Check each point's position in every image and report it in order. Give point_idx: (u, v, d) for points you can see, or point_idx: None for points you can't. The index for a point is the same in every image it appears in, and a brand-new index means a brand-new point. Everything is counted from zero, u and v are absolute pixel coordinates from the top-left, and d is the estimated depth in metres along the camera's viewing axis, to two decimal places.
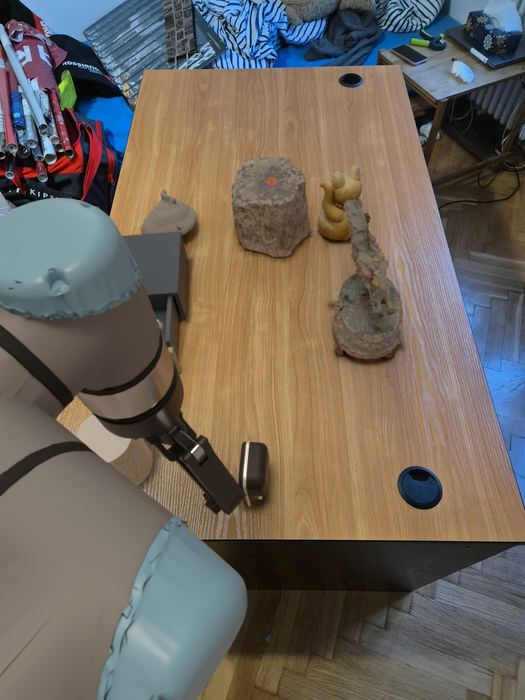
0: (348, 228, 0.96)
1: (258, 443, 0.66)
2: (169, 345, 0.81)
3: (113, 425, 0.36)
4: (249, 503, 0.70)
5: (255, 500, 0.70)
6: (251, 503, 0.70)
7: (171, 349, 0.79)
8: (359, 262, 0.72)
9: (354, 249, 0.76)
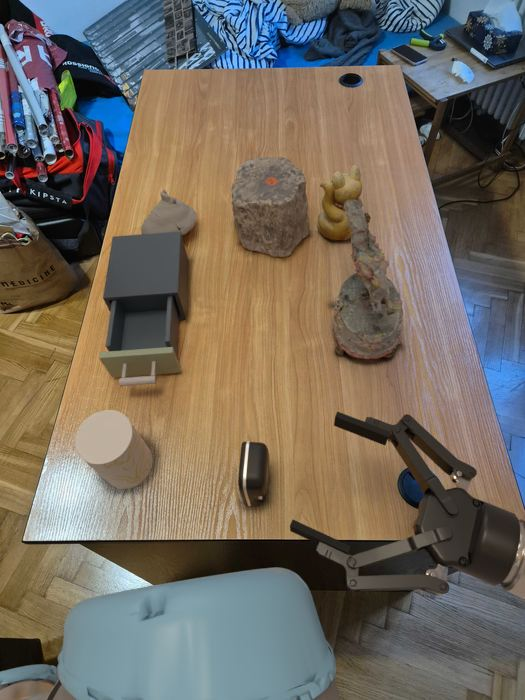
0: (348, 228, 0.96)
1: (258, 443, 0.66)
2: (169, 345, 0.81)
3: (509, 559, 0.44)
4: (249, 503, 0.70)
5: (255, 500, 0.70)
6: (251, 503, 0.70)
7: (171, 349, 0.79)
8: (359, 262, 0.72)
9: (354, 249, 0.76)
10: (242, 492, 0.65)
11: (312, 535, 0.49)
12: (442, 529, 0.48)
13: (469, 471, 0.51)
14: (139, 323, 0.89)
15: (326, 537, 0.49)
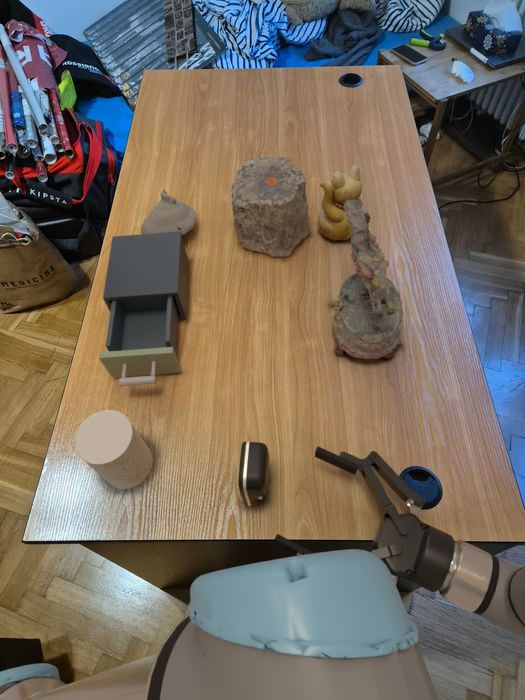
0: (348, 228, 0.96)
1: (258, 443, 0.66)
2: (169, 345, 0.81)
3: (443, 572, 0.57)
4: (249, 503, 0.70)
5: (255, 500, 0.70)
6: (251, 503, 0.70)
7: (171, 349, 0.79)
8: (359, 262, 0.72)
9: (354, 249, 0.76)
10: (242, 492, 0.65)
11: (292, 547, 0.61)
12: (394, 546, 0.60)
13: (420, 500, 0.64)
14: (139, 323, 0.89)
15: (303, 549, 0.61)
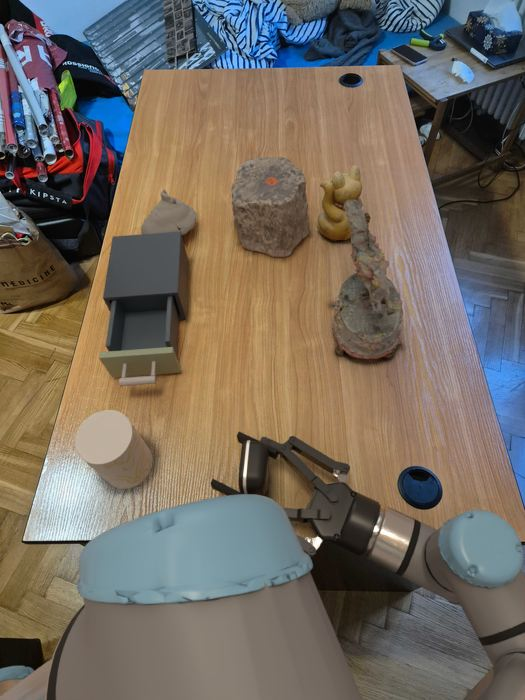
0: (348, 228, 0.96)
1: (258, 442, 0.66)
2: (169, 345, 0.81)
3: (366, 535, 0.60)
4: None
5: None
6: None
7: (171, 349, 0.79)
8: (359, 262, 0.72)
9: (354, 249, 0.76)
10: (242, 491, 0.65)
11: (226, 490, 0.66)
12: (323, 512, 0.63)
13: (344, 467, 0.67)
14: (139, 323, 0.89)
15: (236, 492, 0.66)
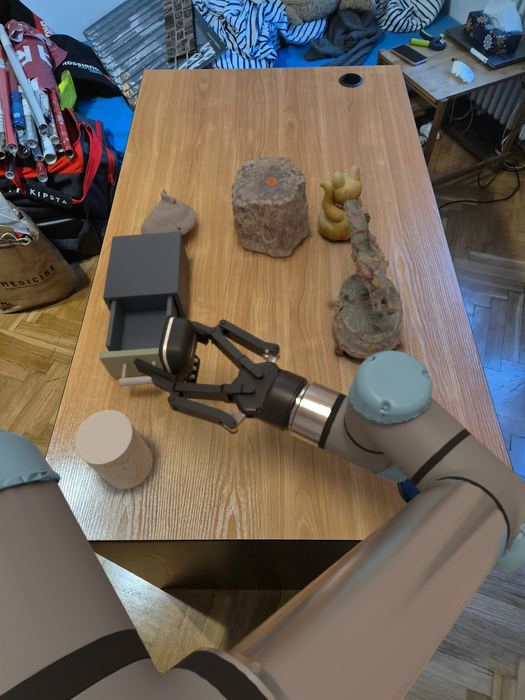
0: (348, 228, 0.96)
1: (183, 318, 0.63)
2: None
3: (287, 404, 0.57)
4: None
5: None
6: None
7: None
8: (359, 262, 0.72)
9: (354, 249, 0.76)
10: (165, 368, 0.62)
11: (149, 368, 0.63)
12: (247, 386, 0.60)
13: (273, 347, 0.64)
14: (139, 323, 0.89)
15: (159, 369, 0.63)
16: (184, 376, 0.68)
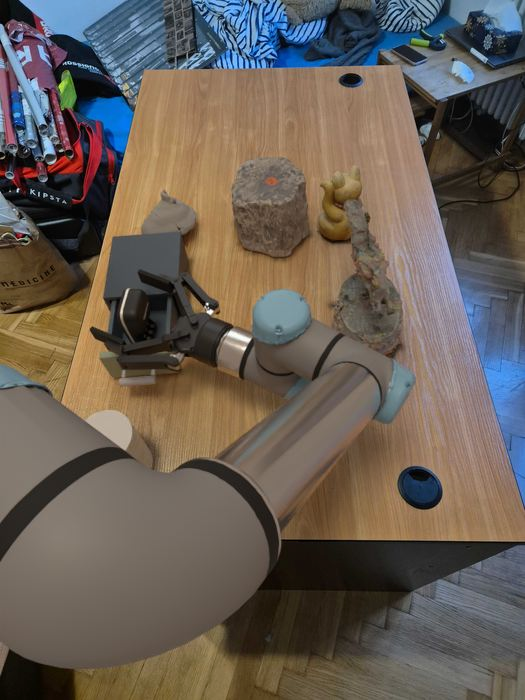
0: (348, 228, 0.96)
1: (137, 289, 0.79)
2: None
3: (213, 342, 0.71)
4: None
5: None
6: None
7: None
8: (359, 262, 0.72)
9: (354, 249, 0.76)
10: (123, 328, 0.79)
11: (102, 334, 0.75)
12: (183, 331, 0.74)
13: (213, 302, 0.77)
14: None
15: (110, 335, 0.75)
16: (142, 337, 0.84)
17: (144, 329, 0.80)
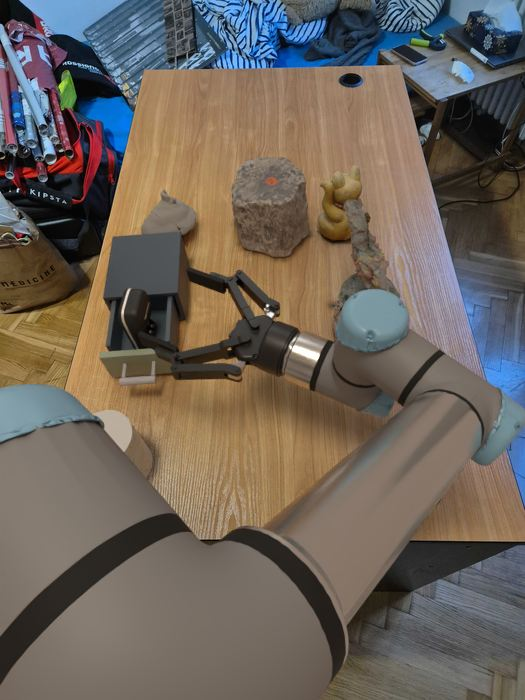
0: (348, 228, 0.96)
1: (138, 289, 0.79)
2: None
3: (281, 349, 0.63)
4: (137, 347, 0.84)
5: None
6: (139, 348, 0.84)
7: None
8: (359, 262, 0.72)
9: (354, 249, 0.76)
10: (124, 328, 0.79)
11: (152, 340, 0.67)
12: (244, 336, 0.66)
13: (274, 304, 0.69)
14: None
15: (161, 341, 0.67)
16: None
17: (145, 329, 0.80)
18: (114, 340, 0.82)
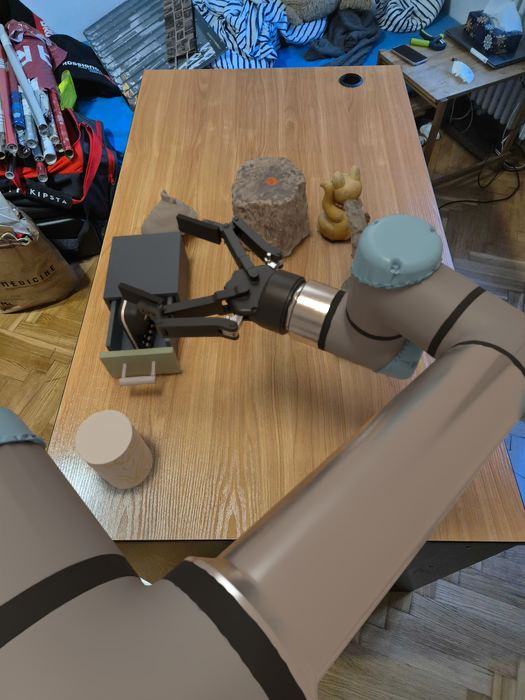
0: (348, 228, 0.96)
1: None
2: (169, 345, 0.81)
3: (285, 299, 0.53)
4: (137, 347, 0.84)
5: (142, 344, 0.83)
6: (139, 348, 0.84)
7: (171, 349, 0.79)
8: None
9: (354, 249, 0.76)
10: (124, 328, 0.79)
11: (134, 292, 0.57)
12: (241, 286, 0.56)
13: (277, 252, 0.60)
14: None
15: (145, 293, 0.57)
16: (142, 337, 0.84)
17: (145, 329, 0.80)
18: (114, 340, 0.82)
